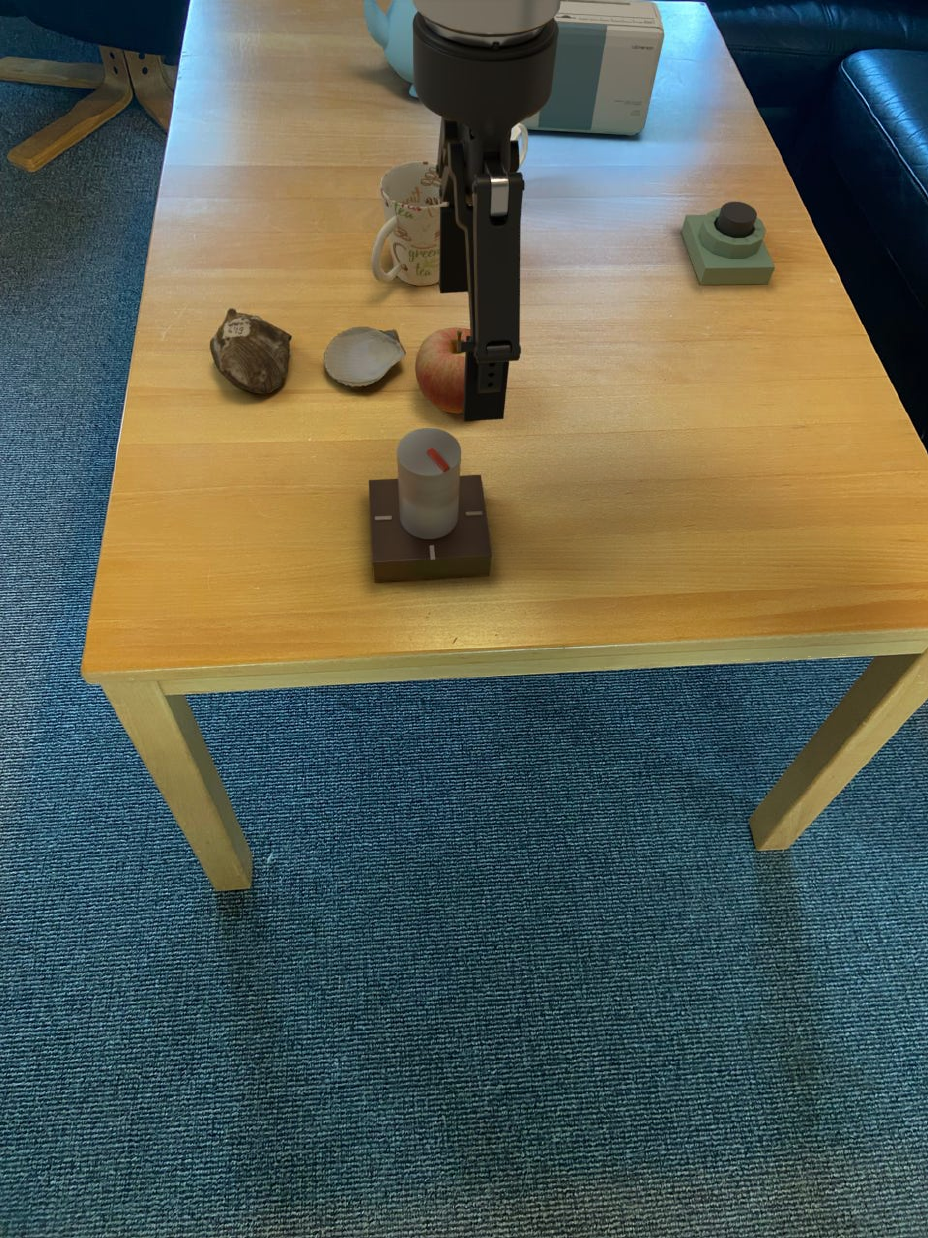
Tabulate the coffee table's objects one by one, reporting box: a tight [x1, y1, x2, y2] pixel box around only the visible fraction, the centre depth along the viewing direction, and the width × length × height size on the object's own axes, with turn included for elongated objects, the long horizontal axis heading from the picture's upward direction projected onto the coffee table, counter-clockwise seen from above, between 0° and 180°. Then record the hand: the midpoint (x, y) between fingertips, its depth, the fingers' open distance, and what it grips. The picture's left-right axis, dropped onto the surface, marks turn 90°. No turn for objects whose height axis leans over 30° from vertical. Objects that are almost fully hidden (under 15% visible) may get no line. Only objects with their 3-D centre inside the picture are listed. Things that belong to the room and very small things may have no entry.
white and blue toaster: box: [520, 0, 665, 137], centre depth 103 cm, size 21×8×20 cm, turn 88°
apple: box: [414, 326, 471, 414], centre depth 80 cm, size 8×8×8 cm
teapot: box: [362, 0, 418, 98], centre depth 110 cm, size 16×20×14 cm
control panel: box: [368, 474, 493, 583], centre depth 72 cm, size 10×9×3 cm
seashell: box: [323, 326, 407, 388], centre depth 84 cm, size 8×3×8 cm
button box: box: [680, 207, 776, 286], centre depth 95 cm, size 10×8×4 cm
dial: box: [396, 427, 462, 539], centre depth 68 cm, size 5×5×8 cm
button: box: [716, 201, 758, 238], centre depth 93 cm, size 4×4×2 cm
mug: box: [370, 160, 447, 287], centre depth 88 cm, size 8×13×10 cm, turn 148°
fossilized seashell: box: [209, 308, 293, 394], centre depth 82 cm, size 8×7×10 cm
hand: (469, 349), depth 60 cm, fingers open, 13 cm apart
